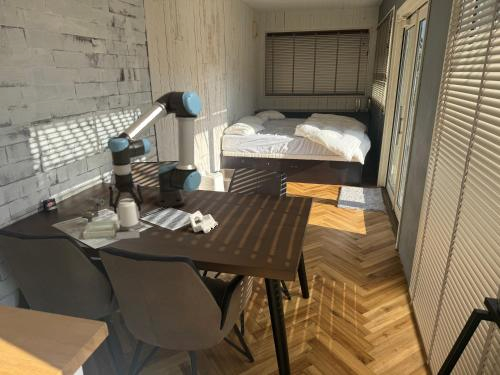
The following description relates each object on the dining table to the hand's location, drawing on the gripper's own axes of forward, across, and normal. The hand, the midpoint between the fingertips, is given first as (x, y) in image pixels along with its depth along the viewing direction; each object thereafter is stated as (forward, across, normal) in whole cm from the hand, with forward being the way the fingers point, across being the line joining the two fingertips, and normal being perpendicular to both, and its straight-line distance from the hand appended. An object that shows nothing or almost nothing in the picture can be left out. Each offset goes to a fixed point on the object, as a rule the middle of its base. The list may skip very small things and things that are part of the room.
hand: (128, 218), depth 165 cm
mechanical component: (+8, +20, -26) cm, 33 cm away
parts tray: (+7, +14, -4) cm, 16 cm away
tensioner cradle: (+7, 0, 0) cm, 7 cm away
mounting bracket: (+8, -35, +3) cm, 36 cm away
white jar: (+3, 0, 0) cm, 3 cm away
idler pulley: (+7, +20, -14) cm, 26 cm away
